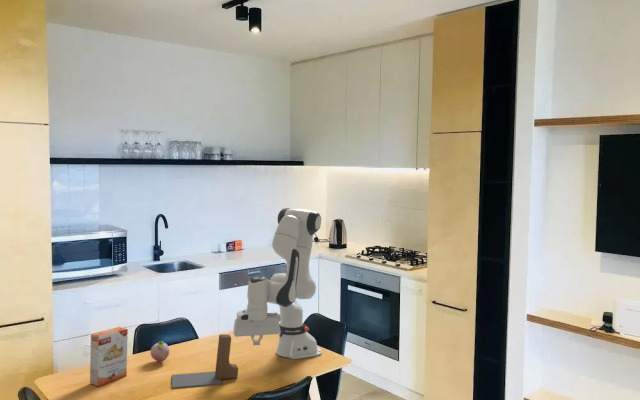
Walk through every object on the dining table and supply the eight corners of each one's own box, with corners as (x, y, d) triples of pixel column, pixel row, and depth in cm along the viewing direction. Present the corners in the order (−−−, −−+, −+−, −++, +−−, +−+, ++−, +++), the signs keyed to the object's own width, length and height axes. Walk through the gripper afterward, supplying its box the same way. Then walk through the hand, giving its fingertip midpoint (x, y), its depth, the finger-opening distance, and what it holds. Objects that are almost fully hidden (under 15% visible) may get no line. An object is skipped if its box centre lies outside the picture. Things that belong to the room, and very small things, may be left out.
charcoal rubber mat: (218, 372, 224) (219, 371, 224) (221, 384, 212) (221, 383, 212) (172, 376, 219) (172, 374, 219) (171, 388, 206) (172, 387, 206)
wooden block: (235, 374, 222) (239, 334, 222) (237, 378, 218) (241, 337, 218) (214, 375, 219) (219, 334, 218) (216, 379, 215) (221, 337, 214)
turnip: (149, 359, 237) (149, 338, 236) (167, 357, 240) (168, 336, 239) (151, 367, 228) (151, 345, 227) (170, 364, 231) (170, 343, 231)
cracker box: (98, 387, 205) (98, 336, 204) (89, 383, 209) (89, 334, 207) (127, 376, 217) (128, 328, 216) (118, 372, 220) (119, 325, 219)
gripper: (279, 310, 227) (278, 340, 227) (233, 312, 221) (232, 343, 222) (282, 314, 221) (281, 345, 221) (234, 316, 215) (234, 348, 216)
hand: (256, 344), depth 221 cm, fingers closed
